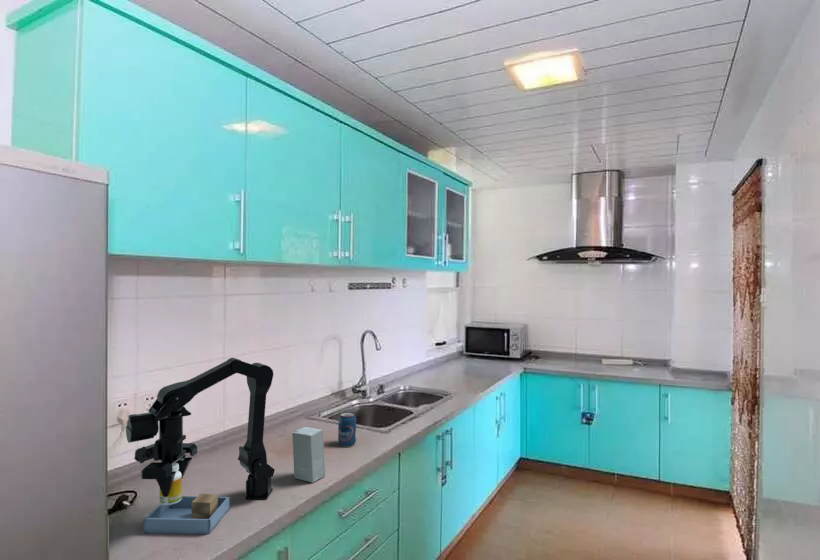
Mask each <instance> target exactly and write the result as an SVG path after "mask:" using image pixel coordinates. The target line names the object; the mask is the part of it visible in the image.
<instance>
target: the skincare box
mask: <svg viewBox="0 0 820 560" xmlns="http://www.w3.org/2000/svg"><path fill="white" fill-rule="evenodd" d="M291 438H292V452H293V453H292V455H293V472H294V473H293V475H294V479H297V480H301V481H305V482H309V483H312V484H313V483H315V482H316V481H318V480H320V479H322V478H324V477H326V468H325V467H326V464H325V450H324V449H325V446H324V445H325V444H324V430H323V429H319V428H313V427H308V426H304V427H302V428H298V429H297V430H295V431H293V432H292V435H291Z"/></svg>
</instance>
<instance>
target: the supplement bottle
mask: <svg viewBox="0 0 820 560" xmlns="http://www.w3.org/2000/svg"><path fill="white" fill-rule="evenodd" d="M178 470H179V464H178V463H174V464H172V471H176V473H175V476H174V479H173V483H172V486H171V489H170V492H169V495H168V497H163V494H162V492H161V489H160V488H159V505H160V504H162V505H173V504H176V503H178V502H180V501H181V499H182V496H183V490H182V489H183V481H182V480H183V478H182V474H181V472H180V471H178Z"/></svg>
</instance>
